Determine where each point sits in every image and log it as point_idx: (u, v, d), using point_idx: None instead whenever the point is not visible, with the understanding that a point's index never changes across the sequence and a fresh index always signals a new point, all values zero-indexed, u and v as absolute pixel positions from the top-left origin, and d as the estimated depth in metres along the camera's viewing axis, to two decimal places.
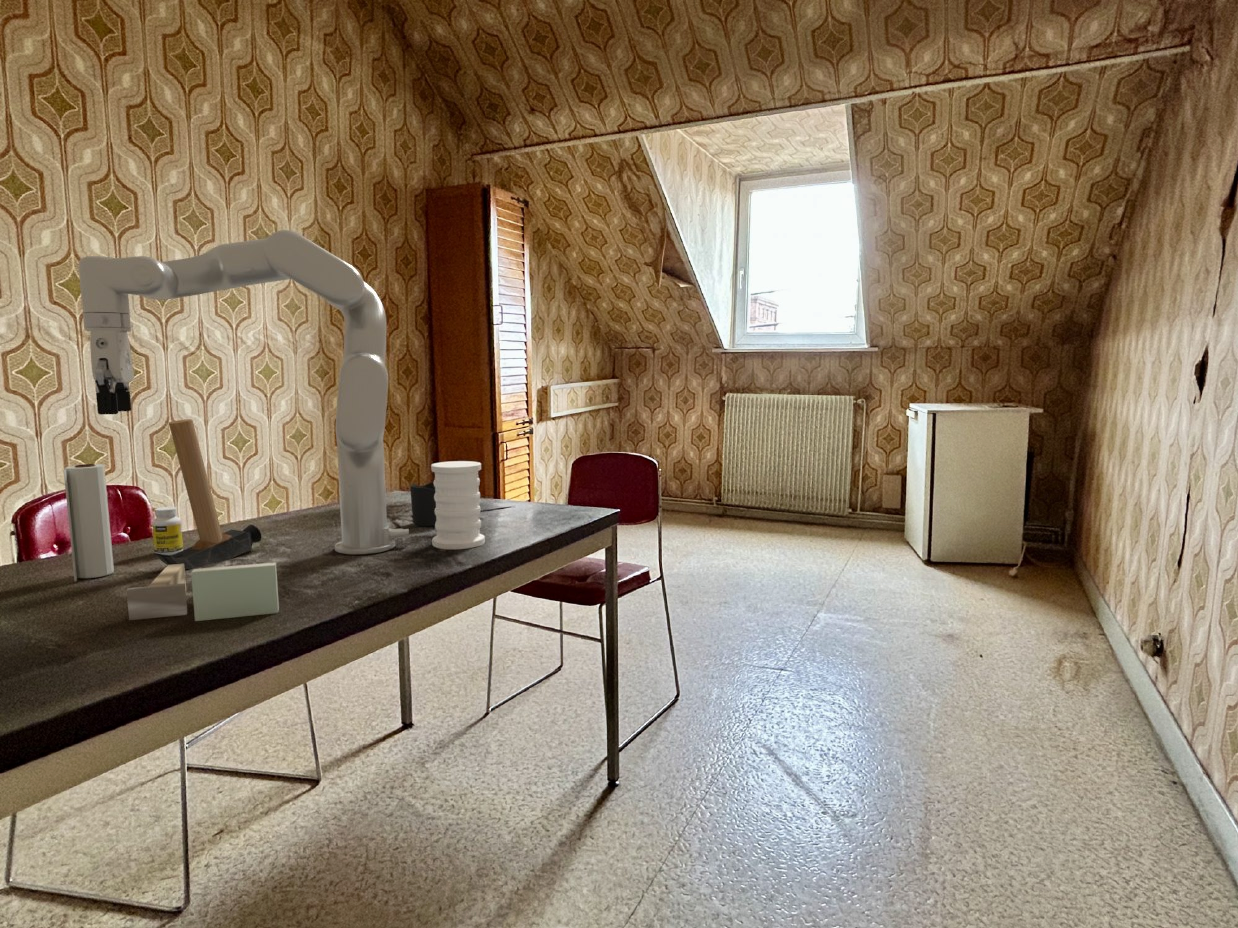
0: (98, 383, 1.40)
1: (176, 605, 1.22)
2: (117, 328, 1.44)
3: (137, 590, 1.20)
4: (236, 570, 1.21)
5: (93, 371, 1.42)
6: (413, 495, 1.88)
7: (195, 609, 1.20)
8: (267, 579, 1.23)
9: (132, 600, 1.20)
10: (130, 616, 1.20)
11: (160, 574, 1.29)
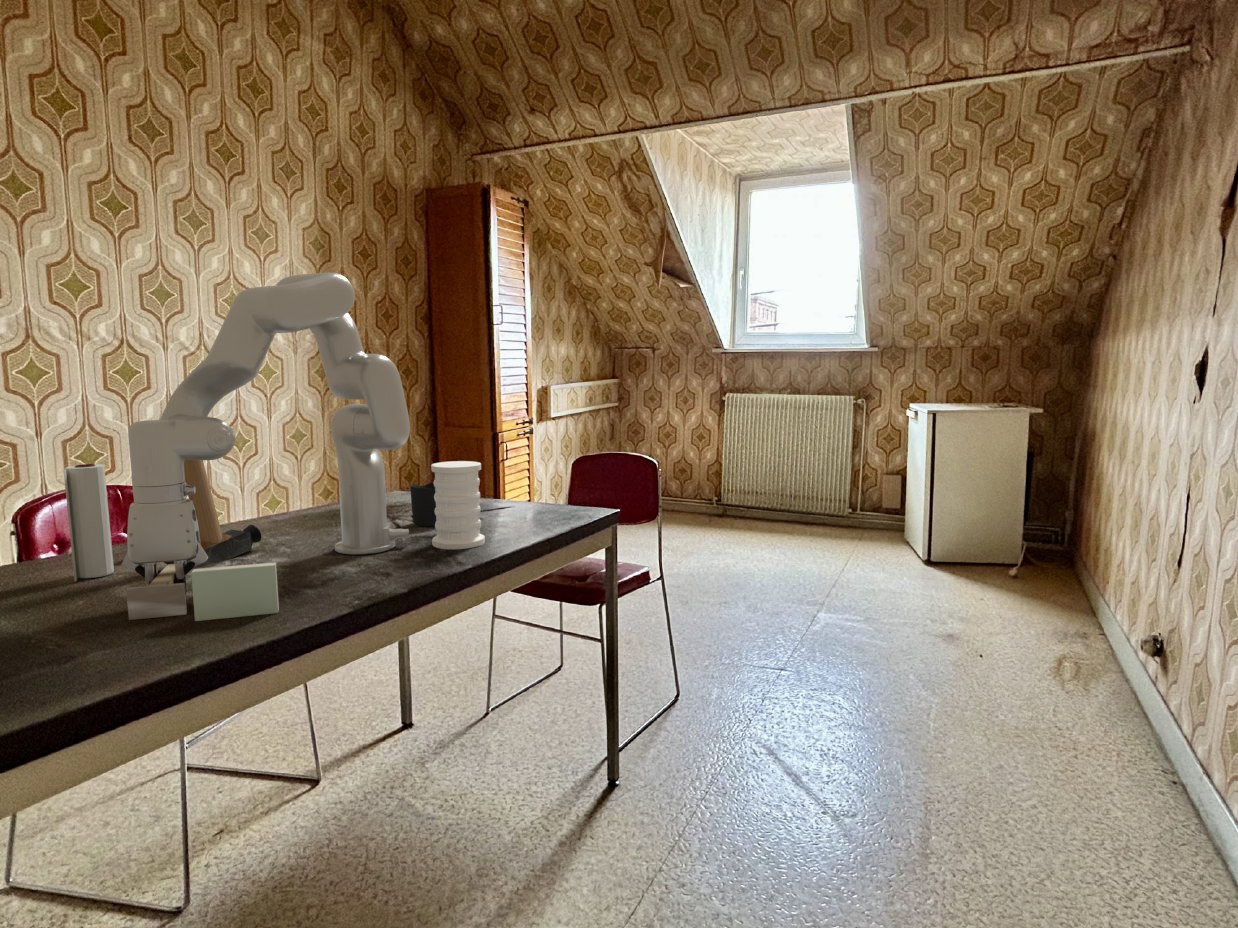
0: (194, 565, 1.29)
1: (176, 605, 1.22)
2: None
3: (137, 589, 1.20)
4: (236, 570, 1.21)
5: (194, 547, 1.28)
6: (413, 495, 1.88)
7: (195, 609, 1.20)
8: (267, 579, 1.23)
9: (131, 599, 1.20)
10: (130, 615, 1.20)
11: (160, 574, 1.29)
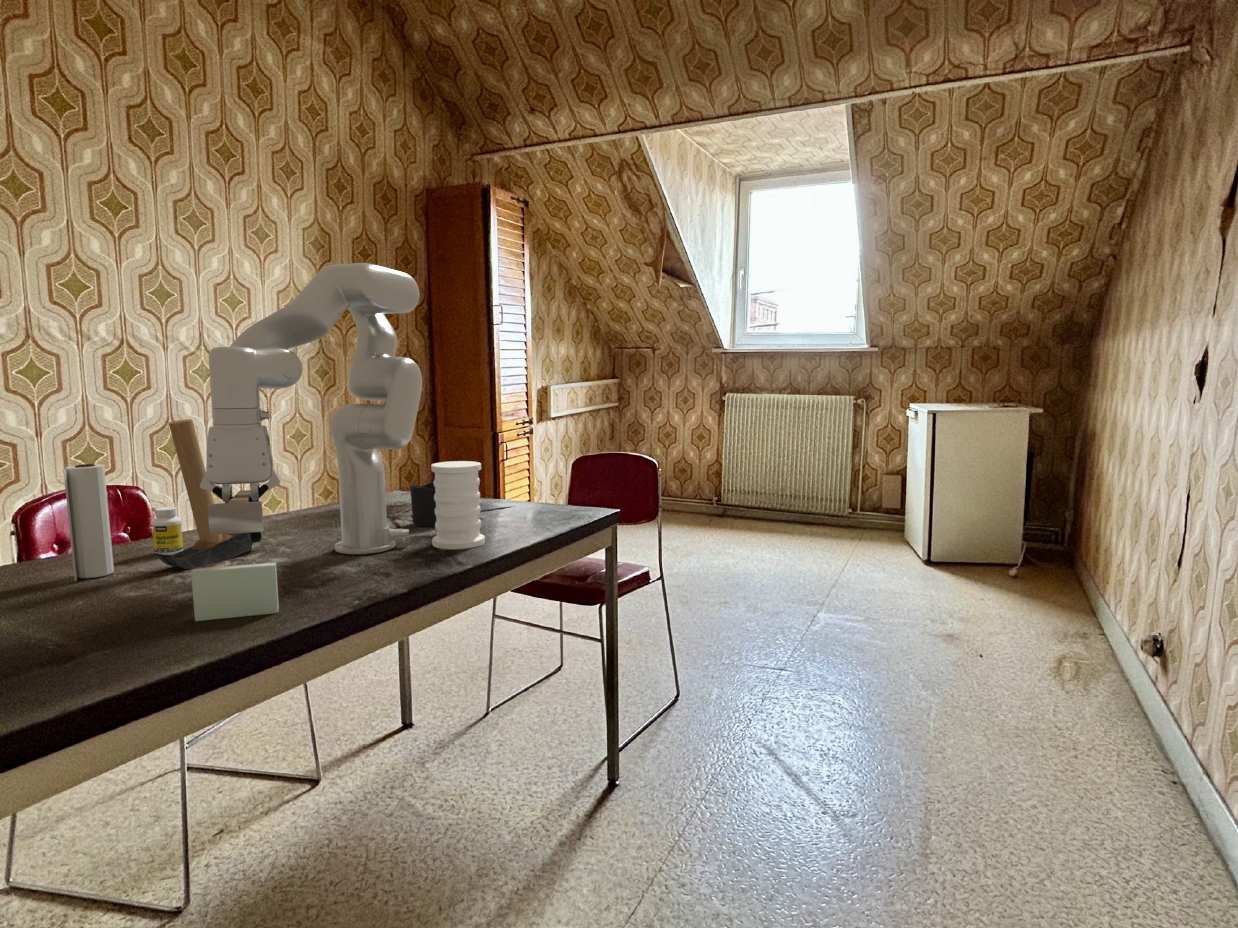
0: (267, 489, 1.34)
1: (254, 522, 1.27)
2: None
3: (218, 505, 1.25)
4: (236, 570, 1.21)
5: (269, 470, 1.33)
6: (413, 495, 1.88)
7: (195, 609, 1.20)
8: (267, 579, 1.23)
9: (212, 515, 1.25)
10: (210, 531, 1.25)
11: (235, 496, 1.33)
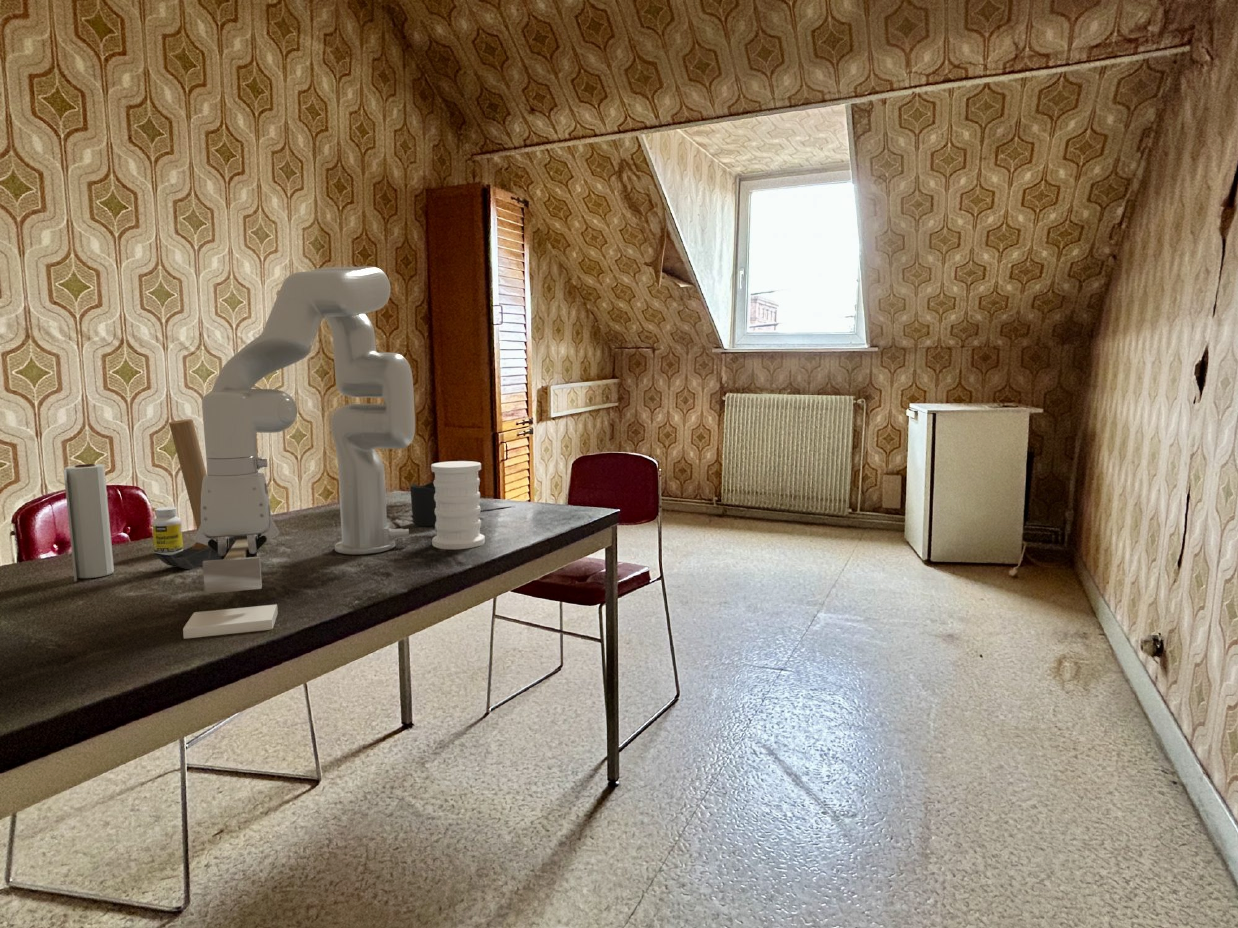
0: (266, 540, 1.27)
1: (251, 578, 1.20)
2: None
3: (213, 563, 1.18)
4: None
5: (267, 521, 1.26)
6: (413, 495, 1.88)
7: None
8: None
9: (208, 573, 1.18)
10: (206, 589, 1.18)
11: (231, 548, 1.26)
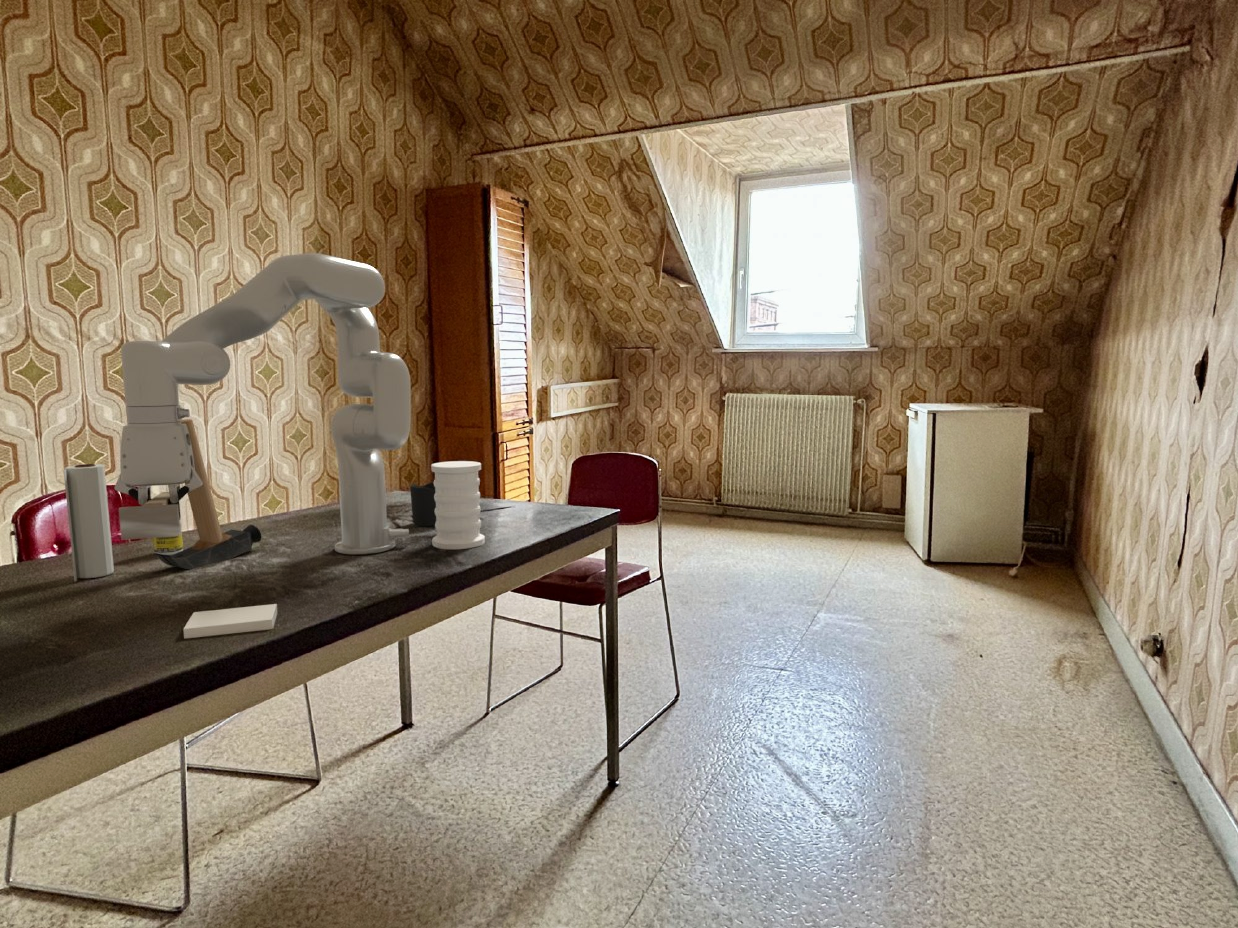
0: (188, 490, 1.28)
1: (169, 526, 1.21)
2: None
3: (129, 509, 1.19)
4: None
5: (188, 471, 1.26)
6: (413, 495, 1.88)
7: None
8: None
9: (124, 519, 1.18)
10: (122, 535, 1.19)
11: (153, 498, 1.27)
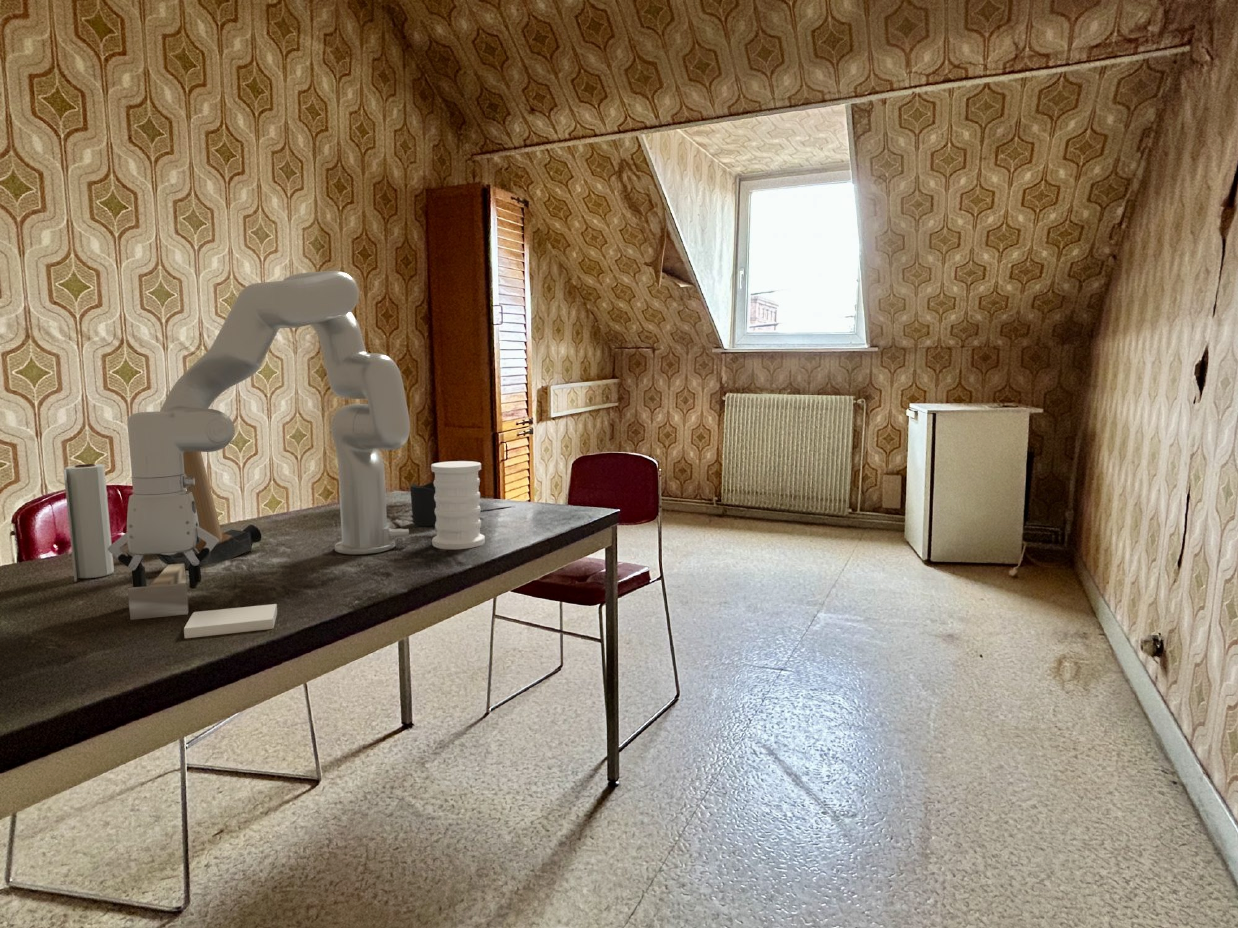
0: (209, 552, 1.30)
1: (177, 605, 1.23)
2: None
3: (138, 590, 1.20)
4: None
5: (194, 539, 1.28)
6: (413, 495, 1.88)
7: None
8: None
9: (133, 599, 1.20)
10: (131, 616, 1.21)
11: (161, 574, 1.29)
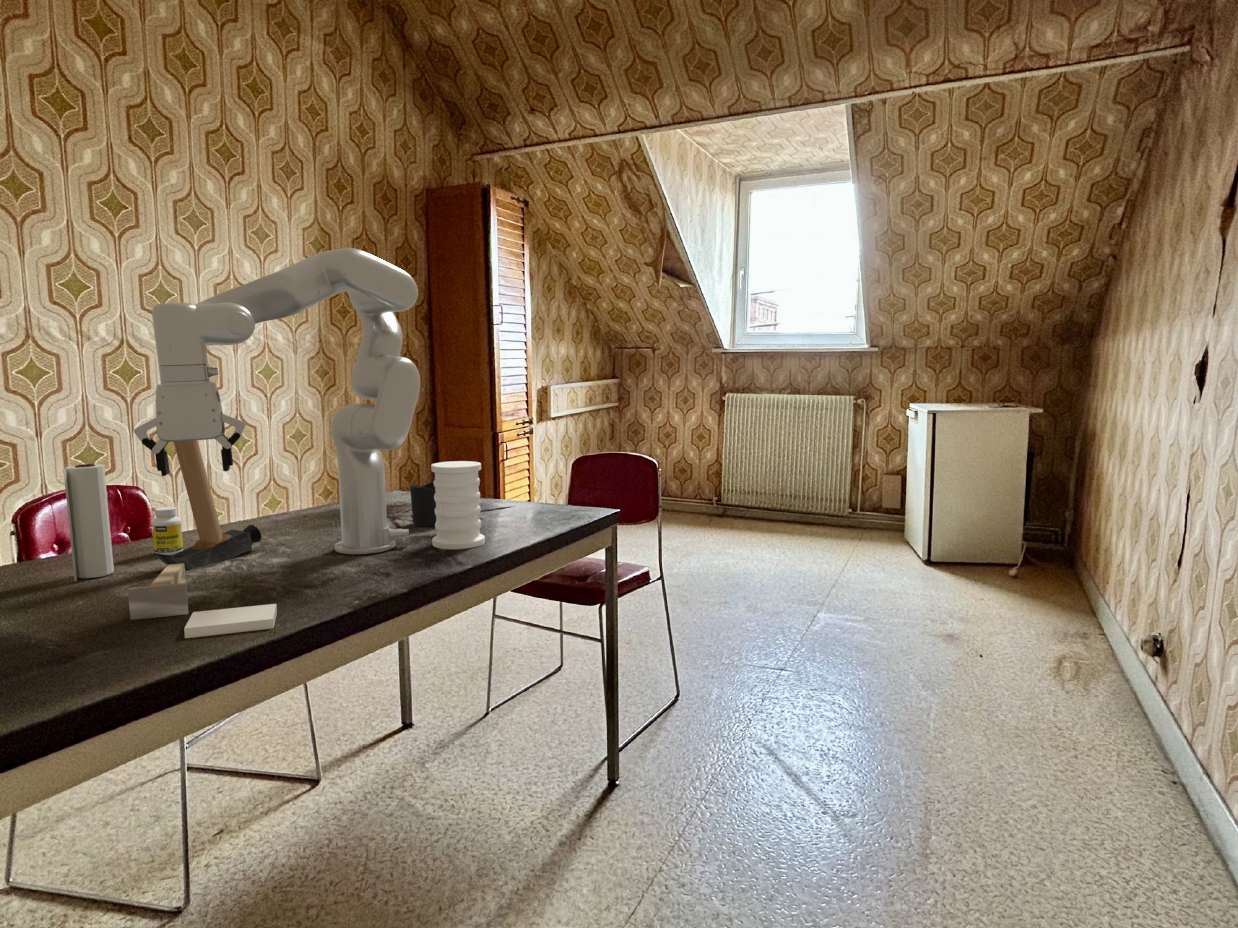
0: (239, 437, 1.36)
1: (177, 604, 1.23)
2: None
3: (138, 590, 1.20)
4: None
5: (220, 426, 1.33)
6: (413, 495, 1.88)
7: None
8: None
9: (133, 599, 1.20)
10: (131, 616, 1.21)
11: (161, 574, 1.29)
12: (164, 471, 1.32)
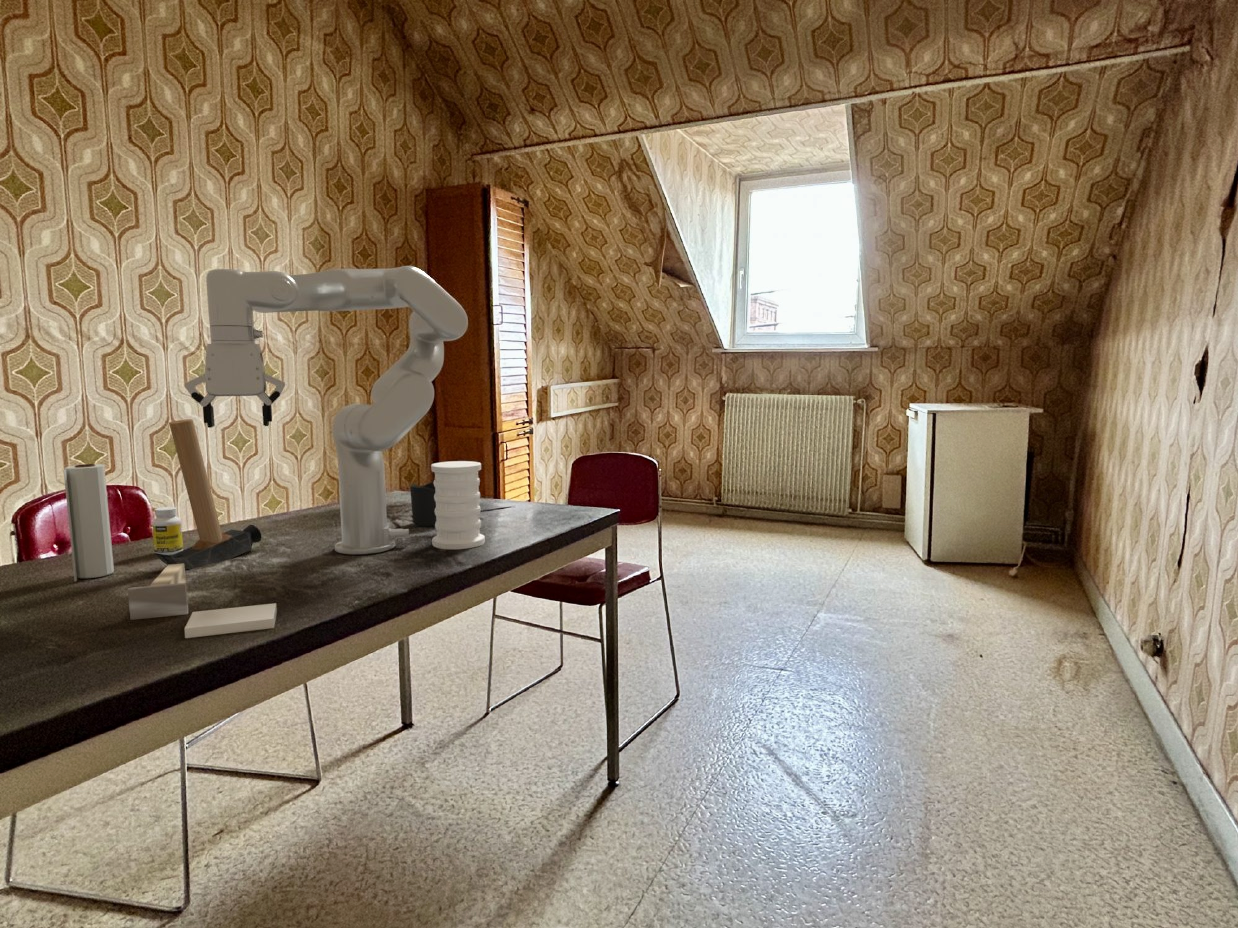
0: (279, 395, 1.48)
1: (177, 604, 1.23)
2: None
3: (138, 590, 1.20)
4: None
5: (262, 384, 1.45)
6: (413, 495, 1.88)
7: None
8: None
9: (133, 599, 1.20)
10: (131, 616, 1.21)
11: (161, 574, 1.29)
12: (210, 423, 1.43)
